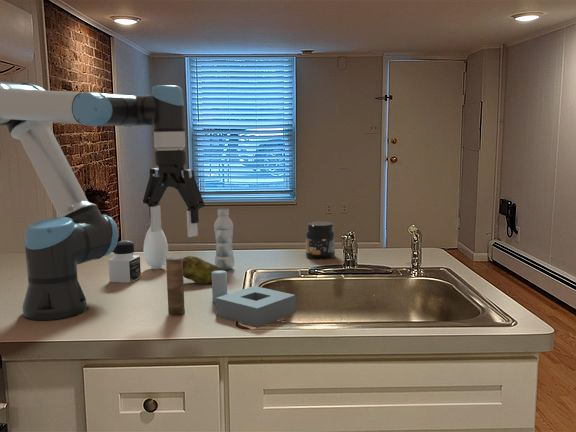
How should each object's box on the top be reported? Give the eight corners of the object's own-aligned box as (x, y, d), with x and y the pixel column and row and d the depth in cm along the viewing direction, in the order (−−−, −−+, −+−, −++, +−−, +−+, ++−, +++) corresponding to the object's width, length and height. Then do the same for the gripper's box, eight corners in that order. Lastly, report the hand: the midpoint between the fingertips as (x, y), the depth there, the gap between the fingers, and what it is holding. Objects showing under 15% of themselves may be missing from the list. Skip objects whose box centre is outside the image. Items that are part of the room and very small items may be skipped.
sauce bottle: (160, 272, 189) (158, 217, 186) (140, 270, 192) (137, 216, 189) (173, 267, 196) (170, 214, 194) (152, 265, 199) (150, 213, 196)
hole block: (257, 327, 135) (257, 308, 135) (216, 315, 144) (215, 297, 144) (295, 312, 146) (295, 294, 145) (254, 302, 155) (254, 285, 154)
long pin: (175, 317, 143) (173, 261, 141) (165, 314, 146) (162, 259, 144) (187, 313, 146) (185, 258, 144) (177, 310, 149) (175, 256, 147)
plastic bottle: (218, 272, 187) (216, 211, 185) (212, 268, 194) (210, 208, 191) (237, 270, 190) (236, 210, 187) (231, 266, 196) (229, 207, 193)
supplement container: (299, 256, 210) (299, 223, 209) (320, 252, 217) (319, 220, 216) (320, 261, 203) (320, 227, 201) (341, 256, 210) (341, 223, 208)
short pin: (219, 304, 153) (218, 274, 152) (209, 301, 156) (208, 272, 155) (230, 301, 156) (229, 271, 155) (220, 298, 159) (219, 269, 158)
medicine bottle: (130, 283, 176) (128, 244, 174) (109, 282, 177) (106, 243, 176) (141, 277, 183) (139, 239, 181) (120, 276, 184) (118, 239, 182)
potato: (214, 287, 170) (214, 260, 169) (174, 284, 174) (173, 258, 173) (225, 280, 178) (225, 254, 177) (187, 278, 182) (186, 252, 180)
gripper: (217, 149, 140) (220, 236, 143) (149, 148, 155) (153, 227, 158) (194, 150, 134) (197, 240, 137) (126, 149, 149) (130, 231, 152)
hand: (174, 233), depth 148 cm, fingers open, 13 cm apart
